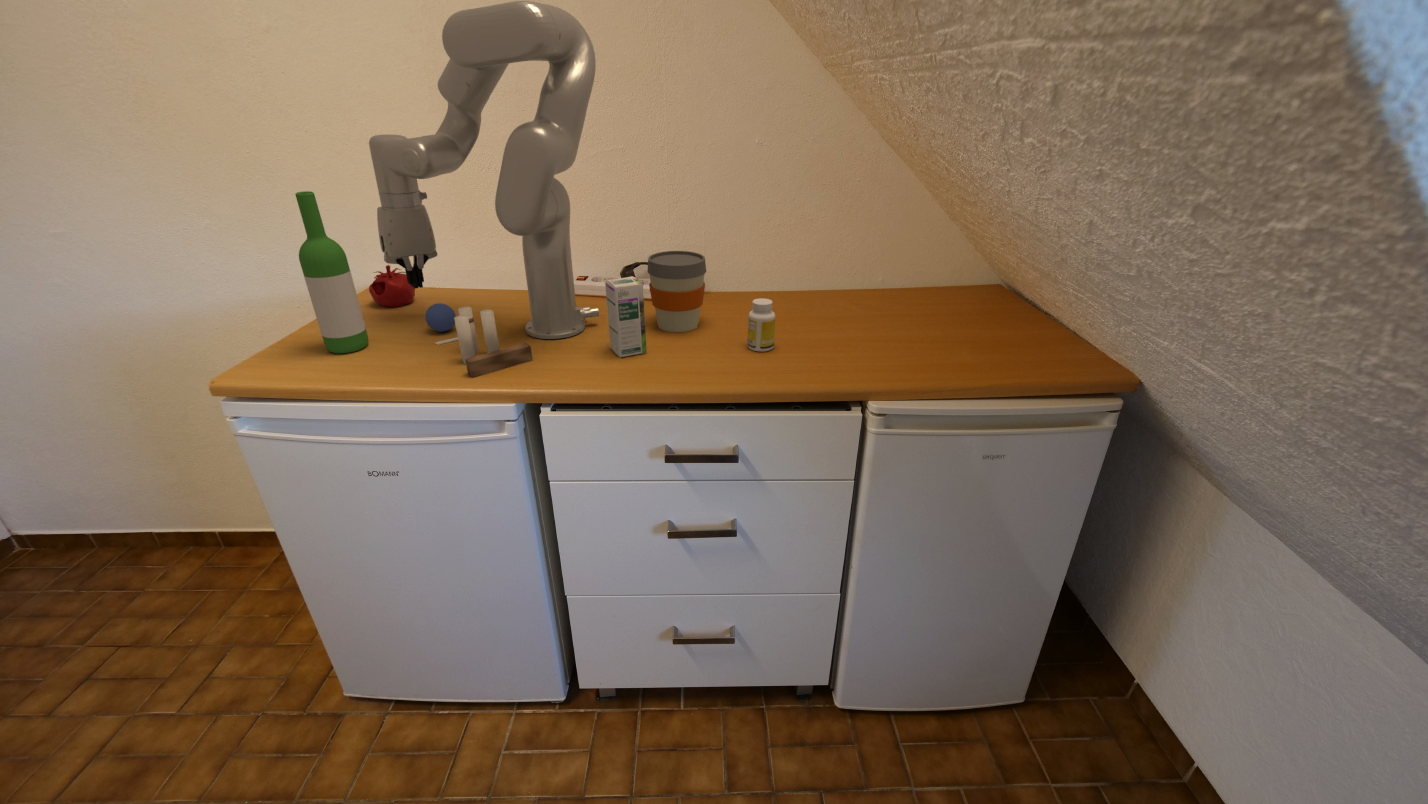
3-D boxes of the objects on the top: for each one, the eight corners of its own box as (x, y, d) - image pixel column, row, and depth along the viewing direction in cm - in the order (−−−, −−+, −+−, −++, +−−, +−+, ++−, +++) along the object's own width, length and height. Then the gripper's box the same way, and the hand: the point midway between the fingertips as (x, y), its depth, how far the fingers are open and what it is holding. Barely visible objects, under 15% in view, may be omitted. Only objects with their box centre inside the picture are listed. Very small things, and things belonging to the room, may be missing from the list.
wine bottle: (340, 358, 121) (293, 198, 107) (318, 349, 125) (270, 193, 111) (378, 345, 127) (338, 191, 113) (355, 337, 130) (314, 187, 116)
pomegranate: (413, 295, 156) (406, 258, 152) (421, 305, 149) (414, 267, 145) (369, 300, 151) (361, 262, 147) (375, 312, 144) (366, 272, 140)
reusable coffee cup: (673, 340, 131) (671, 269, 124) (638, 323, 139) (635, 257, 132) (717, 326, 138) (718, 259, 131) (682, 311, 147) (681, 247, 140)
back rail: (527, 356, 122) (525, 342, 121) (532, 360, 121) (530, 345, 120) (468, 374, 115) (465, 359, 114) (472, 377, 114) (469, 362, 113)
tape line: (473, 334, 133) (473, 333, 133) (475, 335, 132) (475, 334, 132) (435, 343, 128) (435, 342, 128) (437, 345, 127) (437, 344, 127)
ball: (456, 324, 138) (451, 298, 135) (460, 333, 133) (454, 306, 130) (427, 328, 135) (421, 302, 133) (429, 337, 131) (423, 310, 128)
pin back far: (475, 358, 122) (466, 314, 117) (476, 362, 120) (468, 318, 116) (462, 360, 121) (453, 316, 116) (463, 365, 119) (455, 320, 115)
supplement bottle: (776, 344, 129) (779, 298, 125) (769, 354, 125) (772, 307, 120) (751, 340, 131) (753, 295, 126) (744, 350, 126) (745, 304, 122)
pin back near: (499, 351, 125) (492, 308, 120) (501, 356, 123) (494, 312, 118) (486, 353, 124) (479, 310, 119) (488, 358, 122) (481, 314, 118)
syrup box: (619, 358, 122) (615, 286, 115) (609, 348, 127) (604, 278, 120) (646, 353, 125) (643, 282, 118) (636, 343, 129) (632, 274, 122)
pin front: (478, 348, 126) (470, 305, 122) (480, 352, 124) (472, 309, 120) (465, 350, 125) (457, 307, 121) (467, 355, 123) (458, 311, 119)
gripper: (430, 194, 135) (444, 276, 144) (355, 200, 126) (374, 288, 135) (444, 200, 131) (457, 285, 139) (367, 207, 122) (386, 297, 130)
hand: (416, 286), depth 137 cm, fingers closed
